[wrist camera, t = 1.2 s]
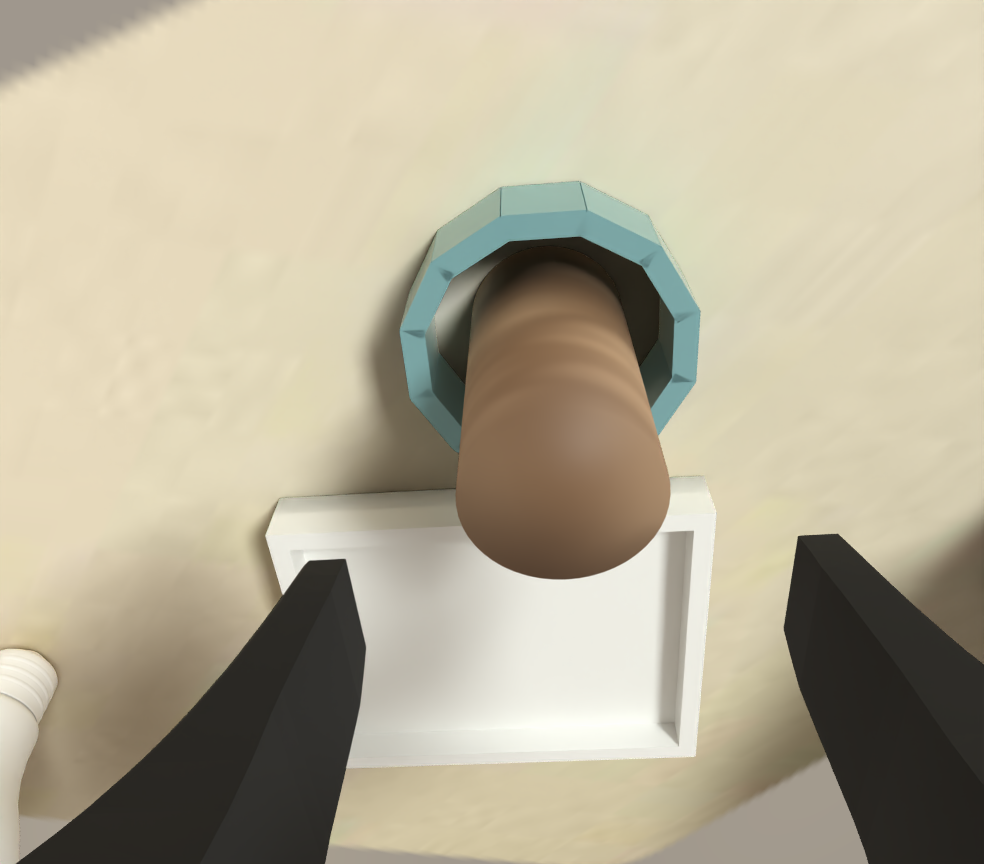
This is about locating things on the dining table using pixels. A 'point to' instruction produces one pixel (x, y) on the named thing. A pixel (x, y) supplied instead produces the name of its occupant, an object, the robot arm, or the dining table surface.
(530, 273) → the dowel
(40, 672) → the lightbulb
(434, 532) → the tray
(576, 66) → the dining table surface
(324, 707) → the robot arm
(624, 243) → the teal ring
